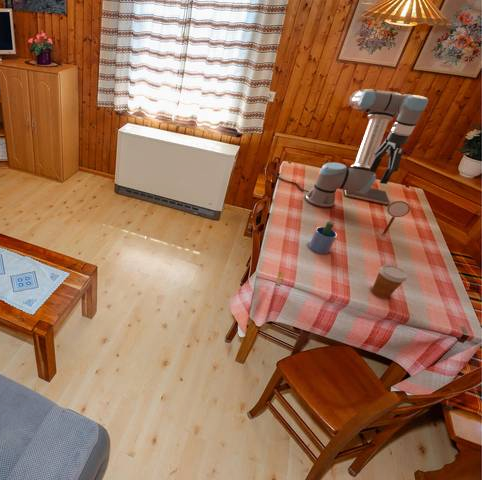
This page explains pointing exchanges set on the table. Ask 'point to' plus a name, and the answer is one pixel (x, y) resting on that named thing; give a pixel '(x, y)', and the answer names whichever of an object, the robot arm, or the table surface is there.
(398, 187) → the table surface
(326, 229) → the stick
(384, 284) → the disposable coffee cup
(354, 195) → the hardcover book
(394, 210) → the magnifying glass
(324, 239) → the tumbler
